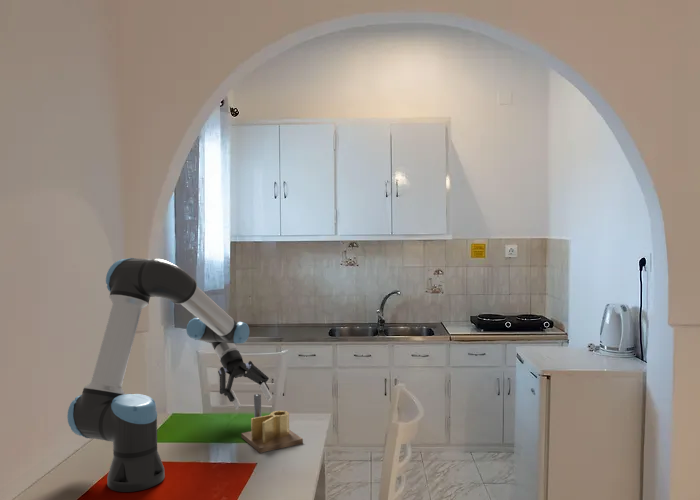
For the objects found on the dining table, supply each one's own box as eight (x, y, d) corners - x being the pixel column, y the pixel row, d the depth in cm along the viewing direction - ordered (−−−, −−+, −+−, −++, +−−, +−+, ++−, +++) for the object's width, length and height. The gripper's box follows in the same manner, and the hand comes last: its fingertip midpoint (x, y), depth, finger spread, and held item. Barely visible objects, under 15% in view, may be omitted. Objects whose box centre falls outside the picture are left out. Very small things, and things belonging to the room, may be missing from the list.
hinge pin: (256, 430, 207) (255, 396, 207) (253, 428, 209) (252, 394, 209) (262, 429, 209) (262, 395, 208) (260, 427, 211) (259, 393, 210)
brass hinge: (259, 445, 189) (258, 423, 189) (248, 437, 196) (248, 416, 196) (295, 437, 195) (295, 416, 195) (284, 430, 203) (283, 409, 203)
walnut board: (259, 452, 187) (259, 448, 187) (241, 437, 201) (241, 433, 201) (302, 443, 195) (302, 438, 194) (282, 429, 208) (282, 424, 208)
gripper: (252, 355, 232) (277, 401, 222) (195, 367, 214) (220, 417, 204) (260, 343, 228) (286, 390, 219) (203, 354, 210) (229, 405, 201)
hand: (254, 403), depth 211 cm, fingers open, 13 cm apart
